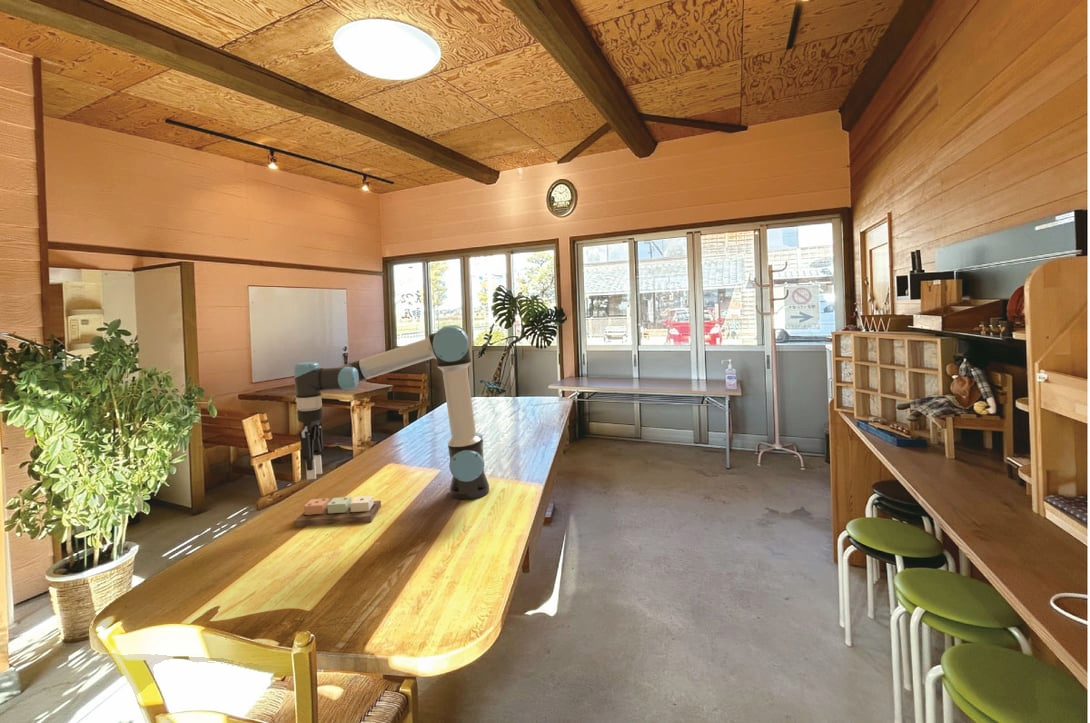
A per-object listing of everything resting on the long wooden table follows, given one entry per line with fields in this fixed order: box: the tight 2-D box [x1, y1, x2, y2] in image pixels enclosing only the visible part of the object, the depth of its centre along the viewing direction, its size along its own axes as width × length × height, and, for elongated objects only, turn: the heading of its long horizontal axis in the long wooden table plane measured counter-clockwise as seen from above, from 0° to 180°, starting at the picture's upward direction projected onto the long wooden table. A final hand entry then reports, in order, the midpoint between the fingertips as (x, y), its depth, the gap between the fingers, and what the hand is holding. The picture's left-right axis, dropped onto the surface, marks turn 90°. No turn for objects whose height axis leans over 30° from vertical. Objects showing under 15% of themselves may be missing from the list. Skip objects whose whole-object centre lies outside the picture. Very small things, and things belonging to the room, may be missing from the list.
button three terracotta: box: [303, 497, 330, 515], centre depth 160 cm, size 6×6×3 cm
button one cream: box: [350, 495, 375, 512], centre depth 161 cm, size 6×6×3 cm
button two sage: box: [327, 496, 353, 513], centre depth 160 cm, size 6×6×3 cm
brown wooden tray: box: [295, 500, 382, 528], centre depth 161 cm, size 24×13×2 cm, turn 95°
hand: (314, 476), depth 159 cm, fingers open, 4 cm apart
